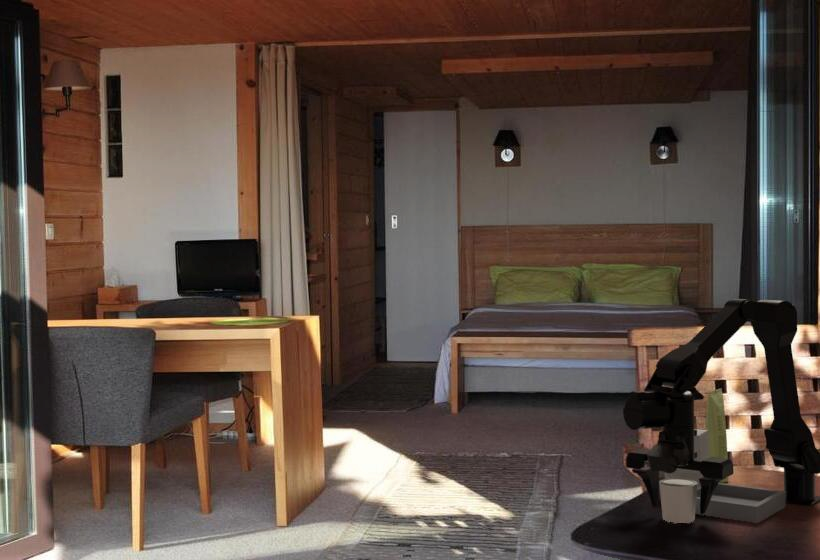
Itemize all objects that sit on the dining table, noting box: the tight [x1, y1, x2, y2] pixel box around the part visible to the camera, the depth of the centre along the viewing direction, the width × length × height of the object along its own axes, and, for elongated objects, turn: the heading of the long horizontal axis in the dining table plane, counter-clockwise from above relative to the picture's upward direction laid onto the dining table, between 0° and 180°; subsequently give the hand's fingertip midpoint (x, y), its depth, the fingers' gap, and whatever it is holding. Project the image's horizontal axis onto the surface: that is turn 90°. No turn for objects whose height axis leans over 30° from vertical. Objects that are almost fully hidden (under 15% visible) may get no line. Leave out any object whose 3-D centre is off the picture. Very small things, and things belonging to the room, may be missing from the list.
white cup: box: [659, 478, 698, 524], centre depth 193 cm, size 7×7×7 cm
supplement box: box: [664, 428, 709, 487], centre depth 214 cm, size 7×7×13 cm
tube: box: [704, 388, 729, 484], centre depth 225 cm, size 6×5×20 cm
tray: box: [695, 482, 787, 524], centre depth 200 cm, size 15×15×3 cm
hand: (678, 510), depth 193 cm, fingers open, 9 cm apart
